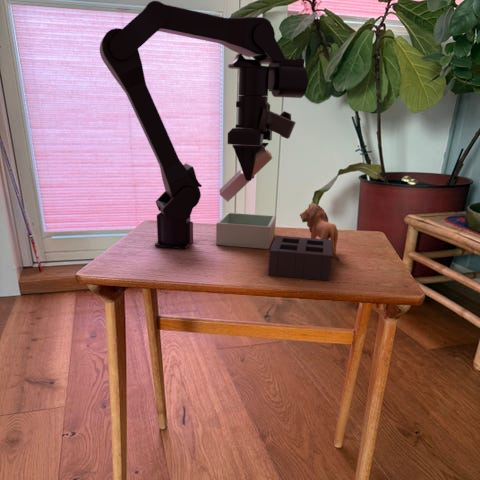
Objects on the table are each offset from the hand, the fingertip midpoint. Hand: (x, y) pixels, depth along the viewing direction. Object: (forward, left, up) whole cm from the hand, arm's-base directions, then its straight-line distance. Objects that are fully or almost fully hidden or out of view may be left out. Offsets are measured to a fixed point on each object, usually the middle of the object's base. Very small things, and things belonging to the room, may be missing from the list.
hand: (249, 179), depth 95 cm
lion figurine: (+16, -5, -13) cm, 21 cm away
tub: (0, 0, -13) cm, 13 cm away
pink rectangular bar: (-6, 0, -4) cm, 7 cm away
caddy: (+13, -17, -13) cm, 25 cm away
